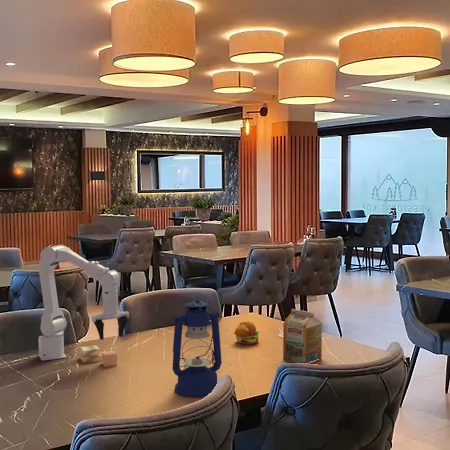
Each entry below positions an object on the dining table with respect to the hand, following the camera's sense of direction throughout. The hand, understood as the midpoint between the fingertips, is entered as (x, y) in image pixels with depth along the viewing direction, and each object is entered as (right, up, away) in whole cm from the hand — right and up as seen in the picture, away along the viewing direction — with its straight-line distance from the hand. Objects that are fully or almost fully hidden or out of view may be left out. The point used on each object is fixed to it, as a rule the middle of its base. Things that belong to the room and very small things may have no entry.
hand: (111, 337), depth 234 cm
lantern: (+34, -12, -30) cm, 47 cm away
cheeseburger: (+53, -8, +28) cm, 61 cm away
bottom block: (-9, -10, +5) cm, 14 cm away
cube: (0, -10, -2) cm, 10 cm away
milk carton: (+73, -9, +4) cm, 74 cm away
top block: (-9, -7, +4) cm, 12 cm away
